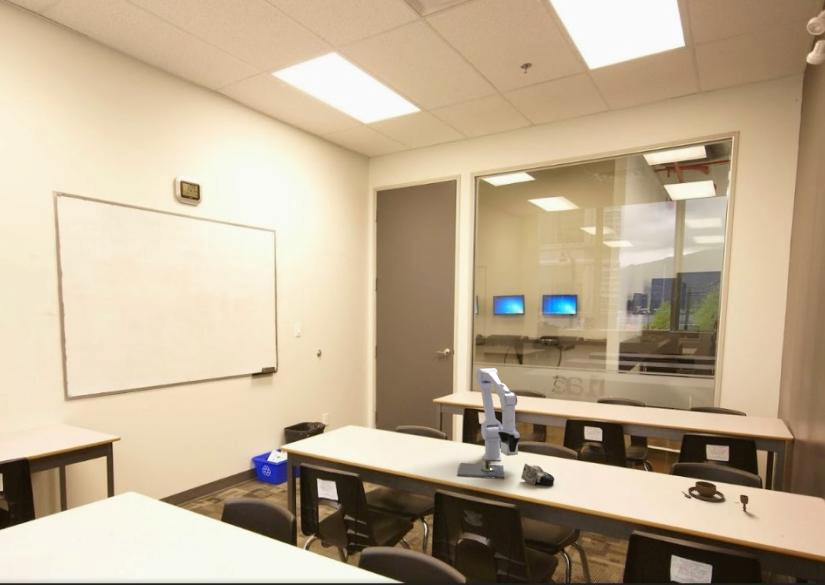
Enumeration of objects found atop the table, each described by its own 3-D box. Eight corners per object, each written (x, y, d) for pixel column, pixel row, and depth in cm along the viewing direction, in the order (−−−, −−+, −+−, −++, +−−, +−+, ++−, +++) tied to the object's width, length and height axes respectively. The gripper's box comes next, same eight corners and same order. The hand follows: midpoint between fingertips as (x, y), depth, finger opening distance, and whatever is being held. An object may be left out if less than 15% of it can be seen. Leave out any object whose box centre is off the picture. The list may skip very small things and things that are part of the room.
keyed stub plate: (460, 464, 210) (460, 455, 210) (503, 467, 206) (503, 457, 207) (457, 475, 196) (457, 465, 196) (504, 478, 193) (503, 468, 193)
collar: (500, 452, 205) (500, 441, 205) (511, 450, 207) (511, 440, 207) (507, 455, 199) (507, 444, 200) (517, 454, 201) (517, 443, 202)
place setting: (722, 492, 180) (722, 477, 180) (752, 514, 160) (752, 498, 160) (676, 489, 182) (675, 475, 183) (700, 511, 162) (700, 495, 163)
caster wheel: (555, 488, 188) (543, 491, 181) (532, 476, 196) (520, 478, 190) (559, 473, 188) (547, 476, 181) (536, 461, 196) (524, 463, 190)
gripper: (492, 416, 209) (493, 446, 209) (509, 424, 195) (510, 455, 195) (505, 415, 211) (506, 444, 211) (523, 422, 198) (523, 453, 197)
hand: (508, 449), depth 203 cm, fingers closed on collar, 6 cm apart
